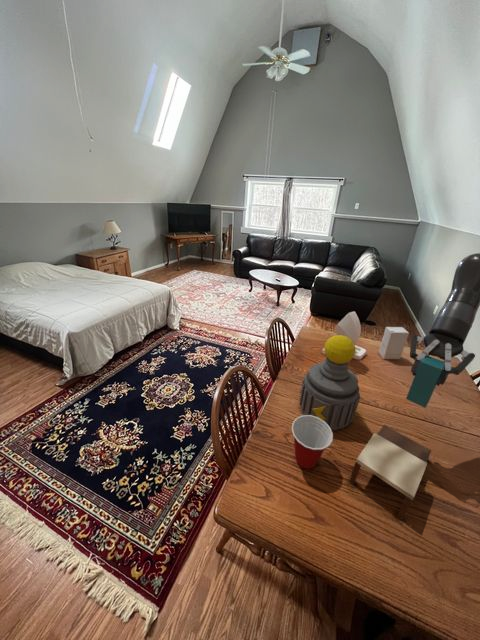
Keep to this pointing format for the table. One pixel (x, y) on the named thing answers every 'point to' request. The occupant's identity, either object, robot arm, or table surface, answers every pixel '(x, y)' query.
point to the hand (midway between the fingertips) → (425, 379)
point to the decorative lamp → (332, 385)
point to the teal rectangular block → (425, 380)
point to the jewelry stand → (351, 332)
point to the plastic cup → (310, 439)
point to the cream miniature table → (394, 463)
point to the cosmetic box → (393, 342)
